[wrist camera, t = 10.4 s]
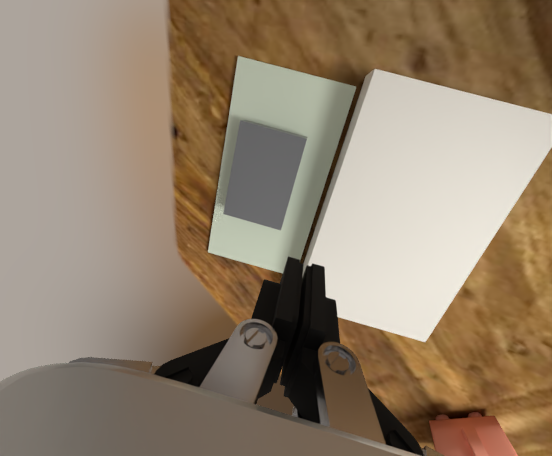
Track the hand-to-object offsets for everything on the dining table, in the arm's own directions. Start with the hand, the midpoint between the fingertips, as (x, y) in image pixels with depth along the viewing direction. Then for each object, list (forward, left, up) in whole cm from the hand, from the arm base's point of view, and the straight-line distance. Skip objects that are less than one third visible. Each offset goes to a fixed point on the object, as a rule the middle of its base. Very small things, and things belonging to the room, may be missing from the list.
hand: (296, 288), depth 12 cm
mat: (0, -4, -17) cm, 17 cm away
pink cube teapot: (+27, +30, -17) cm, 44 cm away
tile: (-1, -5, -14) cm, 15 cm away
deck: (0, +9, -17) cm, 19 cm away
